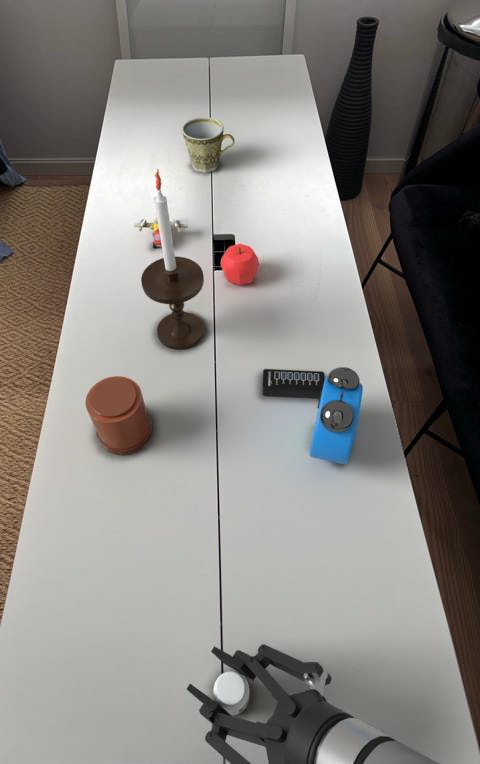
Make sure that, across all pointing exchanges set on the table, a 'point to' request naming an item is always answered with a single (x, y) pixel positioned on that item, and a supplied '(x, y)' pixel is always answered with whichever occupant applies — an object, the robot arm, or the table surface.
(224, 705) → the pill bottle
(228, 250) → the apple
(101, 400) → the brown cylindrical container
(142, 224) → the toy airplane
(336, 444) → the alarm clock
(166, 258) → the candlestick
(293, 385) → the multiport hub
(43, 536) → the table surface
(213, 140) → the ceramic cup
